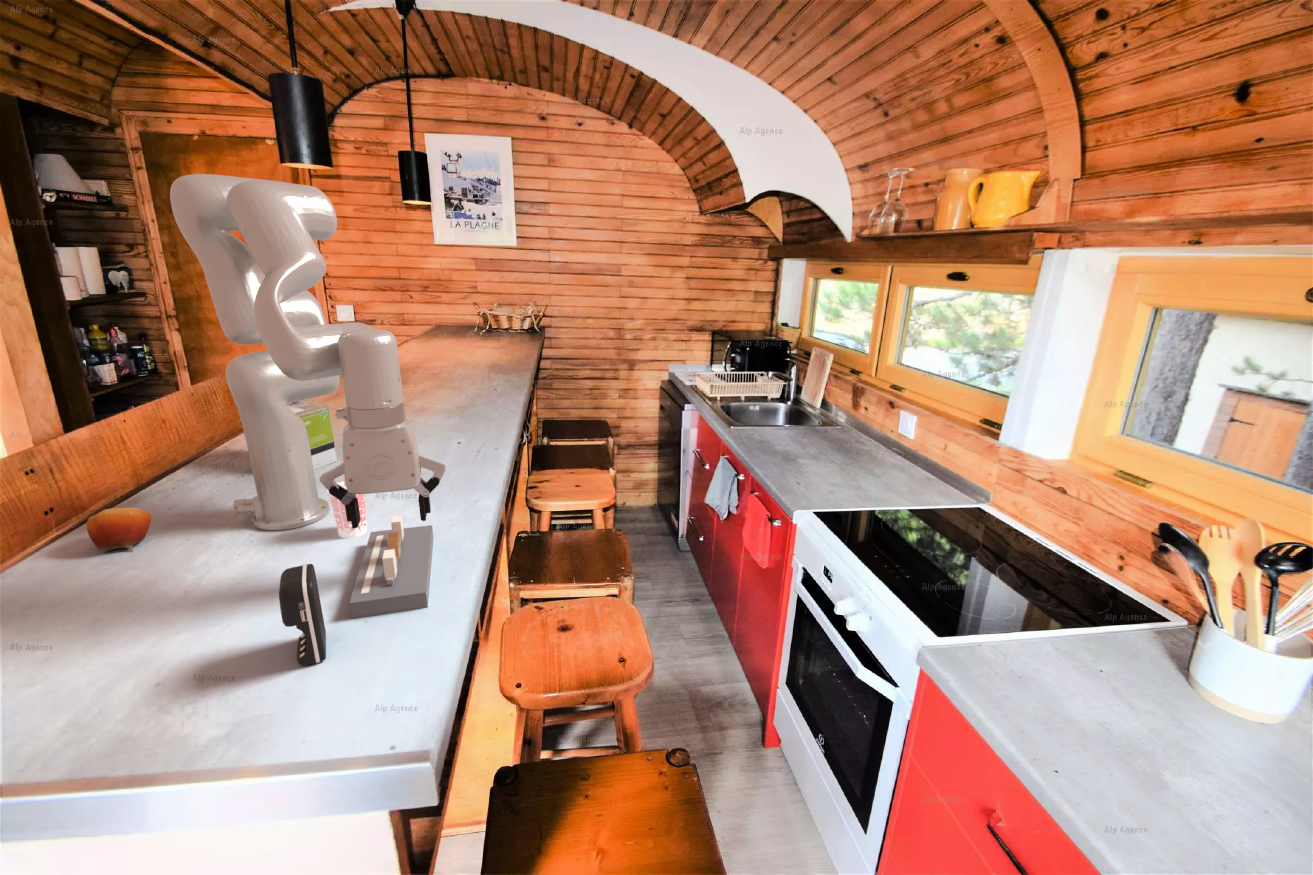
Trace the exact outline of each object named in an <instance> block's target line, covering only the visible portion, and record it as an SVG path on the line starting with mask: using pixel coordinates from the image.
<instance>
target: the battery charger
mask: <svg viewBox="0 0 1313 875" xmlns="http://www.w3.org/2000/svg"><path fill="white" fill-rule="evenodd" d="M317 580H318V579H317V575H316V570H315V566H314V564H312V563H304V564H302V565H298V566H293V567H289V568H286V569H285V570H283V571H282V573H281V575H280V580H279V581H280V583H279V589H278V600H279V609H280V615H281V621H282V624H284V626H285V627H287V628H288V627H296V629H298V630H299V631H301V632H302V634H301V635H300V636H299V637H298V639H297V648H296V649H297V653H296V660H297V663H298V665H301V666H306V665H307V666H308V665H312V664H315V663H316V664H318V663H321V662H323V661H325V660H326V658H327V636H326V635H327V634H326V633H327V631H326V627H325V621H324V615H323V609H322V605H321V604H322V603H321V597H320V592H319V587H318V581H317Z"/></svg>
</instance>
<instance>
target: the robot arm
mask: <svg viewBox="0 0 1313 875" xmlns="http://www.w3.org/2000/svg"><path fill="white" fill-rule="evenodd" d="M169 191H170V192H169V199H170V205H171V210H172V214H173V217H174V218H173V219H174V220H175V223H176V225H177V228H178V229H179V232H180V233H181V234H182V236H183V238H184V240H185V241H186V243H187V244H188V246H189V247H190V249H191V250H192V252H193V253H194V255H195V257H196V258H197V261H198V262H199V264H200V265H201V269H202V271H203V273H204V277H205V281H206V283H207V287H208V291H209V293H210V297H211V301H212V303H213V307H214V309H215V313H216V316H217V319H218V322H219V324H220V328H221V329H222V332H223V334H224V335H225V337H226V338H227V339H228V340H229V341H230V342H232V343H234V344H237V345H244V346H245V345H247V346H248V345H260V344H261V345H263V344H264V346H265V349H266V350H264V351H263V350H262V351H256V352H255V351H254V352H248V353H245V354H242V355H239V356H237V357H234V358H233V359H232V360H230V361H229V363H228V364H227V366H226V368H225V379H226V383H227V387H228V389H229V391H230V394H231V397H232V398H233V401H234V403H235V406H236V408H237V411H238V413H239V418H240V422H241V425H242V429H243V433H244V439H245V443H246V447H247V452H248V455H249V461H250V467H251V471H252V476H253V481H254V486H255V490H256V495H257V496H253V498H248V499H247V498H241V499H233V504H232V506H233V509H234V510H235V511H236V512H237V514H246V513H252V516H251V523H252V524H253V526H254V527H255V528H258V529H259V530H265V531H284V530H289V529H290V530H291V529H296V528H300V527H304V526H307V525H311V524H312V523H315V522H317V521H319V520H321V519H322V518H324V517H325V516H326V515H327V514H329V511H330V503H329V502H328V501H327V500H325V499H323V498H319V493H318V488H317V481H316V476H315V470H314V469H313V463H312V457H311V451H310V445H309V439H308V434H307V429H306V426H305V423H304V422H303V420H302V419H301V418H300V417H299V416H298V415H296V414H295V413H294V412H292V411H291V410H290V409H289V408H288V407H287V404H288V403H291V402H295V401H299V400H308V399H314V398H319V397H324V396H328V395H331V394H333V393H334V392H335V391H337V389H338V388H339V386H340V382H341V377H342V383H343V389H344V397H345V402H346V403H345V404H346V405H345V407H344V408H341V409H336V411H335V414H336V419H338V420H339V419H343V420H346V422H347V424H346V425H345V426H344V427H343V432H342V460H343V462H344V463H342V464H341V463H340V464H338V465H337V466H335V467H333V468H331V469H330V470H328V471H326V472H324V473H322V474H321V476H320V477H319V482H320V483H321V484H322V485H323V487H324V488H325V489H326V491H327V490H328V491H329V493H330V494H331V495H332V496H334V497H335V498H337V499H339V500H340V501H341V503H342V504H343V505H345V510H346V516H347V521H348V522H349V521H351V523H352V528H353V529H354V528H357V527H358V526H359V523H360V520H361V518H360V511H359V505H358V498H356V494H364V495H367V494H368V495H369V494H378V493H379V494H380V493H390V492H400V491H409V490H414V491H416V492H417V493H418V508H419V509H418V510H419V517H420V521H422V522H426V521H427V516H428V514H431V511H432V510H431V501H430V495H431V493H432V492H433V491H434V490H435V489H436V488H437V487H438V486H439V485H440V482H441V480H442V478H443V476H444V474H445V472H446V465H445V464H443V463H440V462H438V461H435V460H432V459H429V458H427V457H424V456H421V455H420V453H419V447H418V443H417V442H418V441H417V440H416V439H417V438H416V434H415V431H414V428H413V425H412V422H411V420H410V419H407V418H406V410H405V409H406V408H405V402H404V393H403V385H402V378H401V367H400V357H399V348H398V340H397V338H396V336H395V335H394V333H392V332H391V331H389V330H386V329H379V328H374V327H371V326H370V325H368V324H365V323H362V322H344V323H343V322H342V323H327V320H326V317H325V314H324V311H323V309H322V306H321V304H320V302H319V301H318V299H317V298H316V296H314V295H313V293H311V292H310V291H308V290H310V289H311V288H313V287H314V286H316V285H317V284H318V283H319V282H320V281H321V280H322V279H323V278H324V276H325V274H326V271H327V263H326V260H325V259H324V256H323V255H322V253H321V251H320V250H319V248H318V246H317V245H316V243H315V241H326V240H329V239H331V238H332V237H333V236H334V235H335V233H336V231H337V227H338V218H337V213H336V210H335V207H334V205H333V204H332V201H331V200H330V198H329V197H328V196H327V195H326V194H325V193H324V191H322V190H321V189H319V188H318V187H315V186H313V185H307V184H299V183H298V184H297V183H291V182H286V181H280V180H270V179H260V178H252V177H251V178H249V177H240V176H233V175H223V174H213V173H211V174H210V173H194V174H187V175H182V176H180V177H178V178H176V179H175V180H174V181H173V182H172V184H171V186H170V190H169ZM231 232H239V233H240V235H241V236H242V238H243V240H244V242H243V241H242V240H241V239H240V238H238V237H237V236H235V235H234V234H232V233H231ZM422 468H423V469H425V470H428V471H431V472H433V474H432V476H431V477H430V479H428V480H427V481H426V479H424V478H423V477H422V476H421V474H422ZM343 474H345V483H346V488H347V490H346V489H344V488H343V487H341V486H340V485H338V484H337V483H338V482H336V479H337V478H339V477H341V476H343Z"/></svg>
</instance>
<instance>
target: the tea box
mask: <svg viewBox="0 0 1313 875" xmlns="http://www.w3.org/2000/svg"><path fill="white" fill-rule="evenodd" d="M287 407H288V408H289V409H290V410H291V411H292V412H294V413H295V414H296V415H298V416H299V417H300V418H301V419H302V420H303V422H304V423H305V426H306V429H307V434H308V439H309V445H310V451H311V457H312V463H313V469H314V471H315V470H317V469H320V468H324V467H326V466H328V465H331V464H333V463H336V462H337V461H338V459H337V452H336V447H335V439H334V435H333V434H334V433H333V428H332V421H331V416H330V415H331V414H330V409H329V404H328V403H322V402H317V401H312V400H308V399H304V400H299V401H295V402H291V403H288V404H287Z"/></svg>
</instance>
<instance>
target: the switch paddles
mask: <svg viewBox="0 0 1313 875" xmlns="http://www.w3.org/2000/svg"><path fill="white" fill-rule="evenodd" d="M390 523H391V524H390V525H391V526H390V527H391V530H392V532H389V533H388V538H387V544H388V550H384V554H383V558H382V560H383V567H384V575H385V580H387V585H391V584H393V583H394V579H396V574H397V562H398V559H399V558H400V553H401V548H400V546H401V541H403V537H404V529H403V528H404V522H403V515H402V514H397V515H393V516H392V517H391V522H390Z"/></svg>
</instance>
